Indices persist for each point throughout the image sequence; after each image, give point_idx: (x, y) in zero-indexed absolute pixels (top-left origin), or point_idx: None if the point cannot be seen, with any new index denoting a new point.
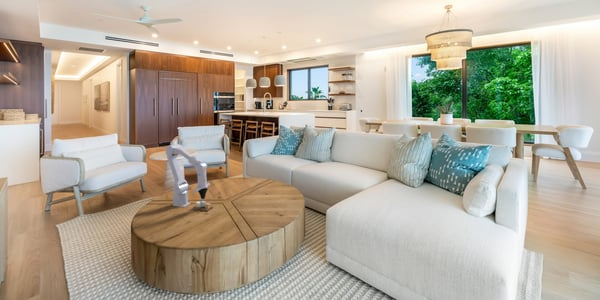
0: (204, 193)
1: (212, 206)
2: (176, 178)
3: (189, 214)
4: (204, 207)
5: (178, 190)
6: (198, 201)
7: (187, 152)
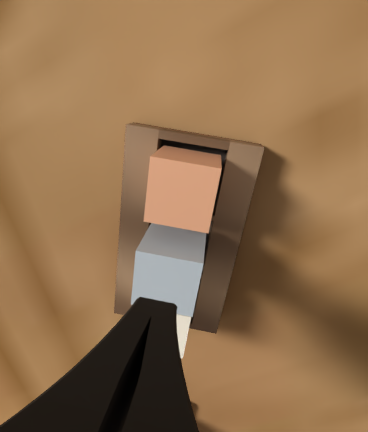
0: (146, 420)
1: (136, 131)
2: None
3: (360, 303)
4: None
5: None
6: None
7: None
